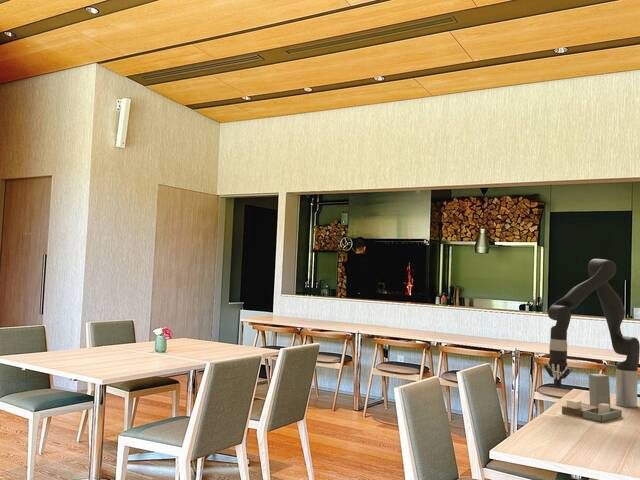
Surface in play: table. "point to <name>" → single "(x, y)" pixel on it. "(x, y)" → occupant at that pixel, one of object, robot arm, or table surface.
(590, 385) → the skincare box
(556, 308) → the robot arm
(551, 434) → the table surface
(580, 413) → the walnut board
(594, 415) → the tray
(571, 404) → the cream square block
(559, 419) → the table surface
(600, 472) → the table surface
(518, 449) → the table surface
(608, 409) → the tile
